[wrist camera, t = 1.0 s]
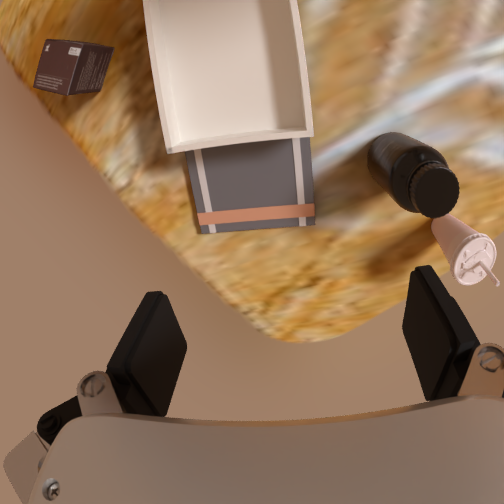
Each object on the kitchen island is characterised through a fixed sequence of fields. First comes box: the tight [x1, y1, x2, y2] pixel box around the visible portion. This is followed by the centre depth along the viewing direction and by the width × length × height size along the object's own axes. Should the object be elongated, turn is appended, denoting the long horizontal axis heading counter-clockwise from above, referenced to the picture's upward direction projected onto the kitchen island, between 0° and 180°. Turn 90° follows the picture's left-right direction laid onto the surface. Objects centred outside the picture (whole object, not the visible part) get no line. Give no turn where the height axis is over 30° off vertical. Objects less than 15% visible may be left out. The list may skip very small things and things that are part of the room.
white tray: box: [143, 0, 314, 154], centre depth 25 cm, size 20×14×5 cm
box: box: [33, 39, 114, 96], centre depth 26 cm, size 6×6×7 cm
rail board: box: [185, 137, 315, 234], centre depth 30 cm, size 33×14×1 cm, turn 7°
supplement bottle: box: [367, 132, 459, 219], centre depth 27 cm, size 7×7×12 cm
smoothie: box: [431, 213, 500, 286], centre depth 30 cm, size 6×6×14 cm
